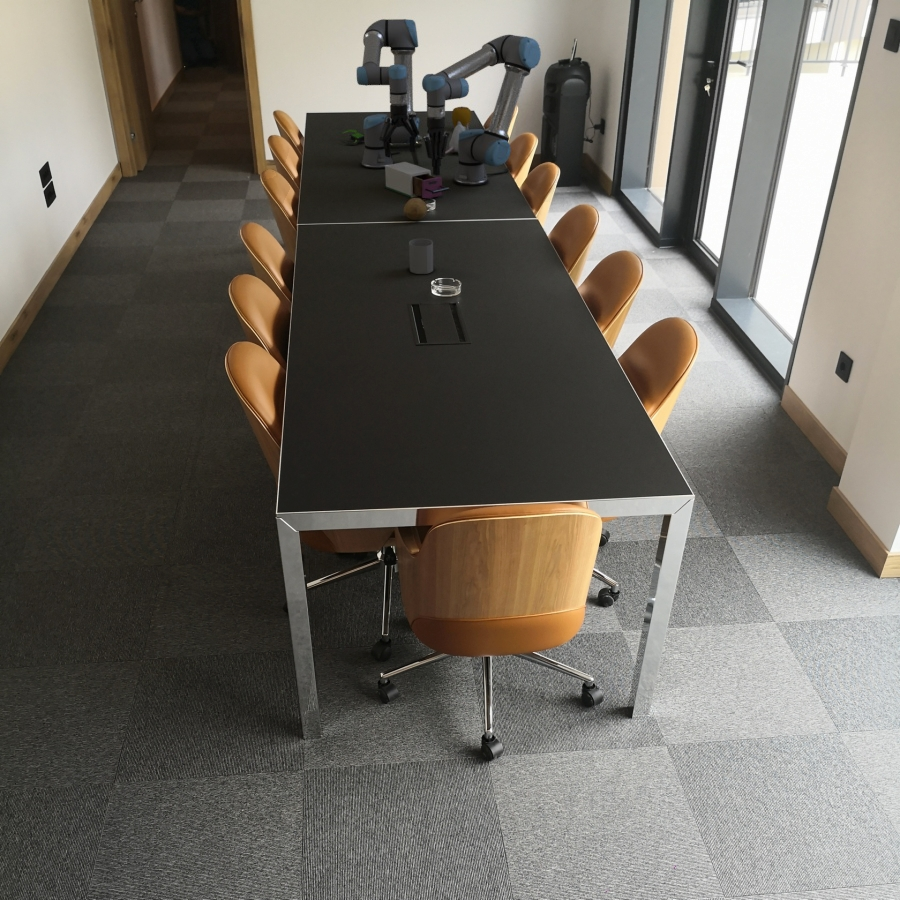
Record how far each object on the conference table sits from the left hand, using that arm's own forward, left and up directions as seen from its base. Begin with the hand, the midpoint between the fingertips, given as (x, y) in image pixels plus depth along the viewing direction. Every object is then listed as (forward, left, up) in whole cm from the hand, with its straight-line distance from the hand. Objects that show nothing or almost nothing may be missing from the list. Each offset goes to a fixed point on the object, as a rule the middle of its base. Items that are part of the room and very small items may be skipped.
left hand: (400, 154), depth 387 cm
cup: (+78, +68, -15) cm, 105 cm away
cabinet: (+2, +5, -15) cm, 16 cm away
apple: (-110, -40, -15) cm, 118 cm away
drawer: (+5, +17, -14) cm, 22 cm away
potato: (+33, +33, -15) cm, 49 cm away
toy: (-62, -13, -15) cm, 65 cm away
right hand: (+7, +25, -4) cm, 26 cm away
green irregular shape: (-58, -65, -15) cm, 89 cm away
